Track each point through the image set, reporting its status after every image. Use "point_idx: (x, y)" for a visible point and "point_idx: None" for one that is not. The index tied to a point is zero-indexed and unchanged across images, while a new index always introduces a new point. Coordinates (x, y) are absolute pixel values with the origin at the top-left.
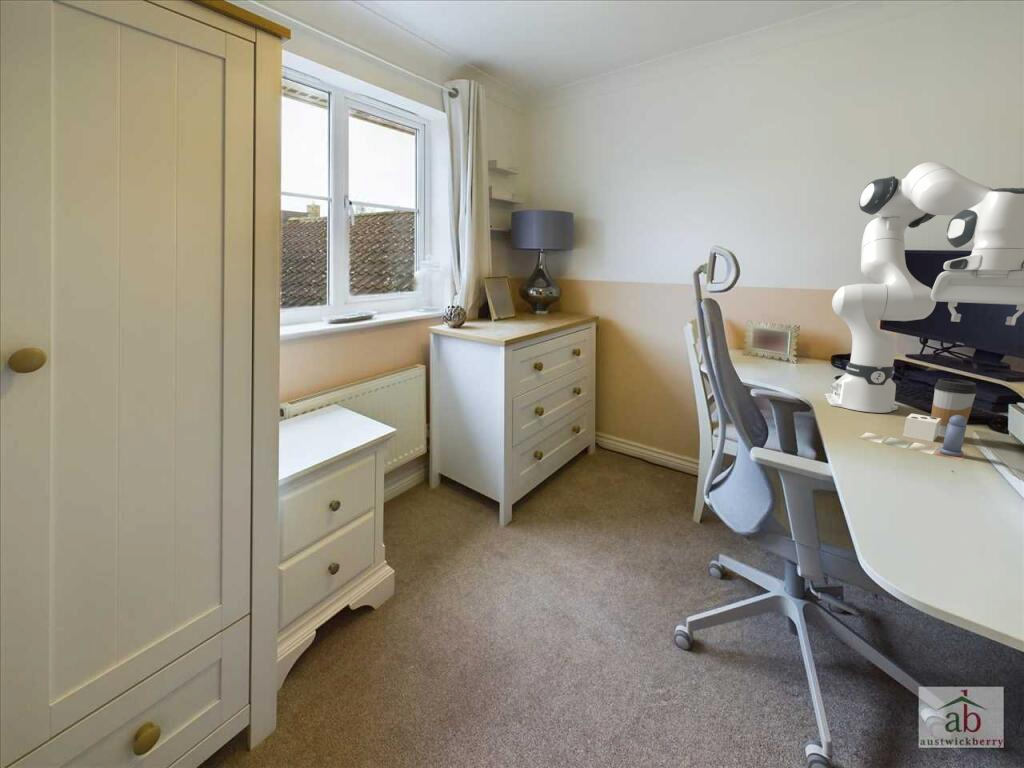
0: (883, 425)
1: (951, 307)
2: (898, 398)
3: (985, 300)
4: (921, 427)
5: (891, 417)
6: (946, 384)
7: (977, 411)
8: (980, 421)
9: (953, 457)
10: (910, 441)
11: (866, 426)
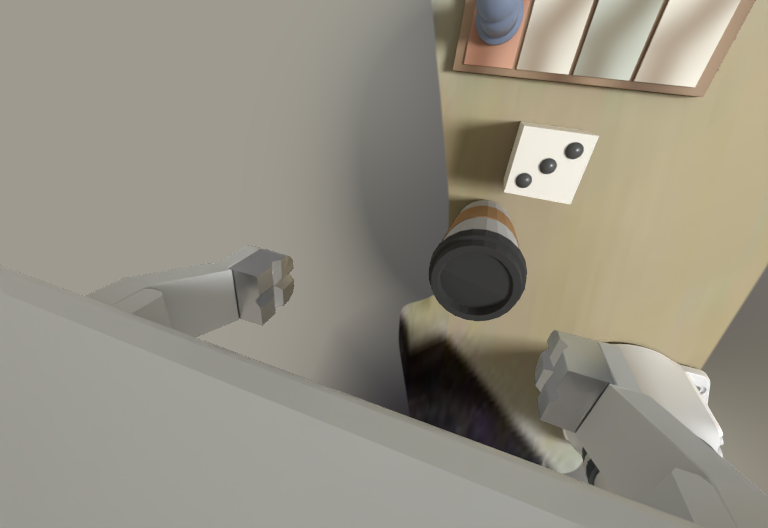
0: (601, 247)
1: (708, 471)
2: None
3: (333, 416)
4: (553, 128)
5: (565, 327)
6: (504, 252)
7: None
8: (415, 366)
9: None
10: (578, 74)
11: (652, 212)
